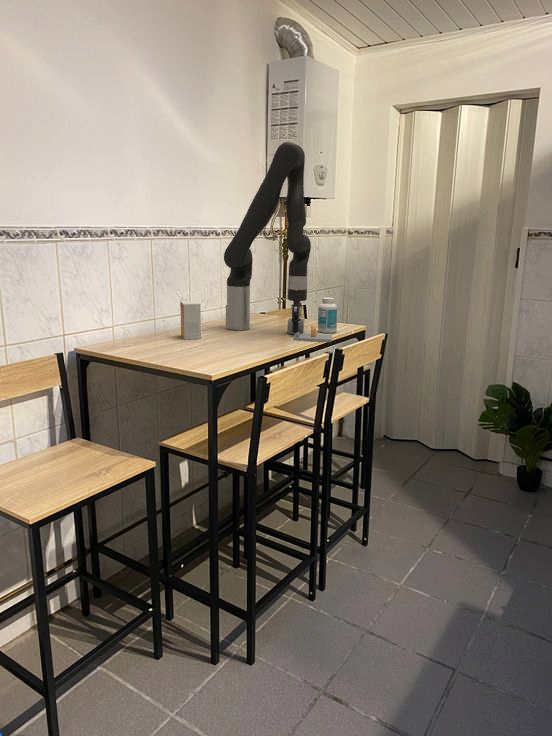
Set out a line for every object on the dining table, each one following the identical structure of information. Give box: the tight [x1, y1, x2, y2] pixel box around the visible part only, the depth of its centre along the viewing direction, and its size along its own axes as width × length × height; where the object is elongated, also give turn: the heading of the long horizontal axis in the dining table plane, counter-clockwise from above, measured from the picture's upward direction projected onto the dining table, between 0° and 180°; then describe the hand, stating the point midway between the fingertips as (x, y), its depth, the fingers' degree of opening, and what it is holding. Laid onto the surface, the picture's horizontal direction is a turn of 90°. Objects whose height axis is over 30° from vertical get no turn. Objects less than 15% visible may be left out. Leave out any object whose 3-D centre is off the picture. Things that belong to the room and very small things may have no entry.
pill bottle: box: [317, 297, 338, 334], centre depth 229 cm, size 8×7×14 cm
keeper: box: [293, 324, 333, 343], centre depth 215 cm, size 14×9×5 cm, turn 84°
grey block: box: [287, 317, 305, 335], centre depth 225 cm, size 6×6×5 cm
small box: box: [179, 300, 202, 340], centre depth 212 cm, size 8×6×13 cm
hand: (295, 330), depth 225 cm, fingers closed on grey block, 6 cm apart
